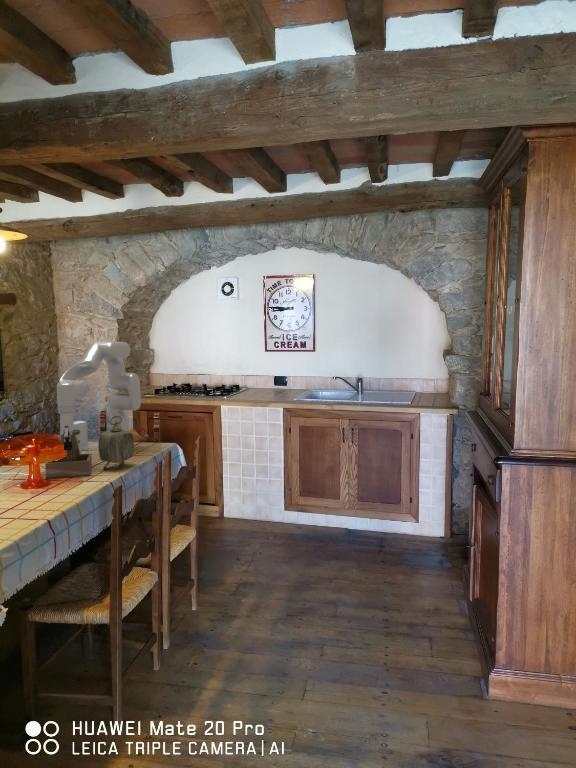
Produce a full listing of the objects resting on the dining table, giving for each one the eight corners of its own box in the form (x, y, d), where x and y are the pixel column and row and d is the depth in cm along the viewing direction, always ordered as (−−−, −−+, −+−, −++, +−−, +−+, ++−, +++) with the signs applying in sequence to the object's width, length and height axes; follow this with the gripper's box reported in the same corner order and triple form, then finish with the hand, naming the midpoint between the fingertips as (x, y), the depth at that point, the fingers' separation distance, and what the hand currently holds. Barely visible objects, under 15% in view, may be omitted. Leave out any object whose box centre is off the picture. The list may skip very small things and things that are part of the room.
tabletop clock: (123, 463, 257) (121, 413, 255) (136, 465, 253) (134, 414, 250) (99, 470, 245) (97, 417, 242) (112, 472, 240) (110, 419, 238)
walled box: (51, 470, 244) (50, 456, 243) (92, 467, 249) (91, 453, 248) (46, 479, 230) (45, 463, 230) (89, 476, 235) (88, 460, 235)
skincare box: (82, 447, 289) (81, 420, 288) (88, 449, 285) (87, 421, 284) (68, 450, 283) (66, 422, 281) (74, 452, 279) (73, 423, 277)
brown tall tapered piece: (63, 470, 234) (60, 415, 232) (57, 468, 239) (54, 414, 237) (82, 467, 240) (79, 413, 238) (76, 464, 245) (73, 412, 243)
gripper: (60, 407, 243) (62, 444, 246) (55, 413, 227) (57, 453, 229) (77, 406, 245) (79, 443, 248) (73, 412, 229) (75, 452, 231)
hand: (69, 448), depth 238 cm, fingers closed on brown tall tapered piece, 5 cm apart
